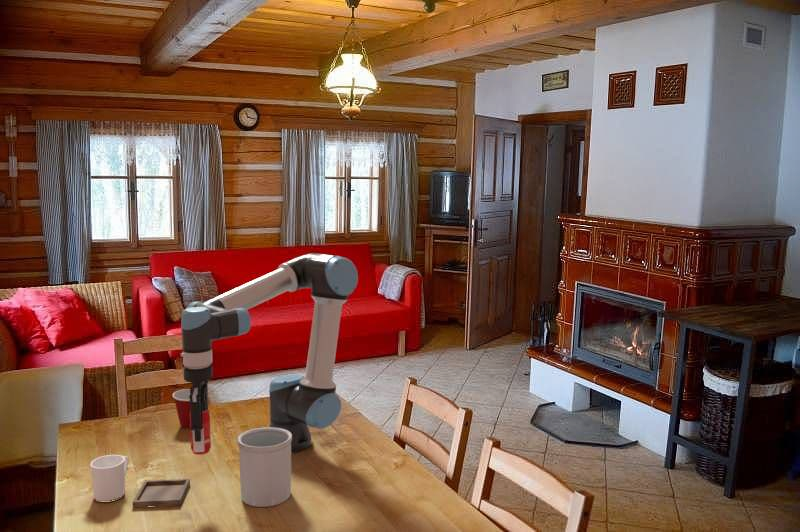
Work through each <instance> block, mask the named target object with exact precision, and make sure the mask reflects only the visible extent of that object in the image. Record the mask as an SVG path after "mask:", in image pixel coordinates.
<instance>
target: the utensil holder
mask: <svg viewBox="0 0 800 532" xmlns="http://www.w3.org/2000/svg"><path fill="white" fill-rule="evenodd" d="M291 441H292V434H291V433H290V432H289V431H287V430H285V429H281V428H273V427H269V426H268V427H267V426H266V427H257V428H252V429H248V430H246V431H244V432H242V433H241V434H240V435H238V437H237V445H238V457H239V458H238V459H239V480H240V481H239V482H240V497H241V500H242V502H243V503H244V504H246V505H247V506H251V507H255V508H256V507H257V508H268V507H273V506H277V505H280V504H283V503H285V502H286V501H287V500H288V499H289V498H290V496H291V489H292V486H291V483H292V453H291Z"/></svg>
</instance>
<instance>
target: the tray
mask: <svg viewBox="0 0 800 532" xmlns="http://www.w3.org/2000/svg"><path fill="white" fill-rule="evenodd" d="M190 486H191V479H190V478H180V479H179V478H178V479H174V478H173V479H172V478H171V479H150V480H146V479H145V480H144V482H143V483H142V485H141V487H140V488H139V490H138V492H137V493H136V495H135V497H134V499H133V500H132V501H131V502H132V503H131V504H132V508H133V507H148V506H173V507H181V506H182V503H183V501H184V499H185V497H186V495H187V492H188V490H189V488H190ZM148 508H149V507H148Z"/></svg>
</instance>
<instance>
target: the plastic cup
mask: <svg viewBox="0 0 800 532" xmlns="http://www.w3.org/2000/svg"><path fill="white" fill-rule="evenodd" d="M190 395H191V394H190V388H185V389H179V390H176V391H174V392H173V393H172V398H173V400H174V403H175V408H176V411H177V412H176V413H177V417H178V419H179V421H178V422H179V424H180V428H182V427H183V428H182V429H186V428H188V429H190V412H191V411H190V398H189V396H190Z"/></svg>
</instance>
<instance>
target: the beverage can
mask: <svg viewBox="0 0 800 532" xmlns="http://www.w3.org/2000/svg"><path fill="white" fill-rule="evenodd" d="M210 419H211V413H210V410H209V407H208V408H207V407H203V428H204V450H205V451H204V452H194V446H193V430H190V429H189V430H190V449H191V451H192V454H194V455H198V456H201V455H206V454H208V453H209V452H210V449H211V448H212V444H211V443H212V442H211V440H212V437H211V420H210ZM190 427H191V412H190Z"/></svg>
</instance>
